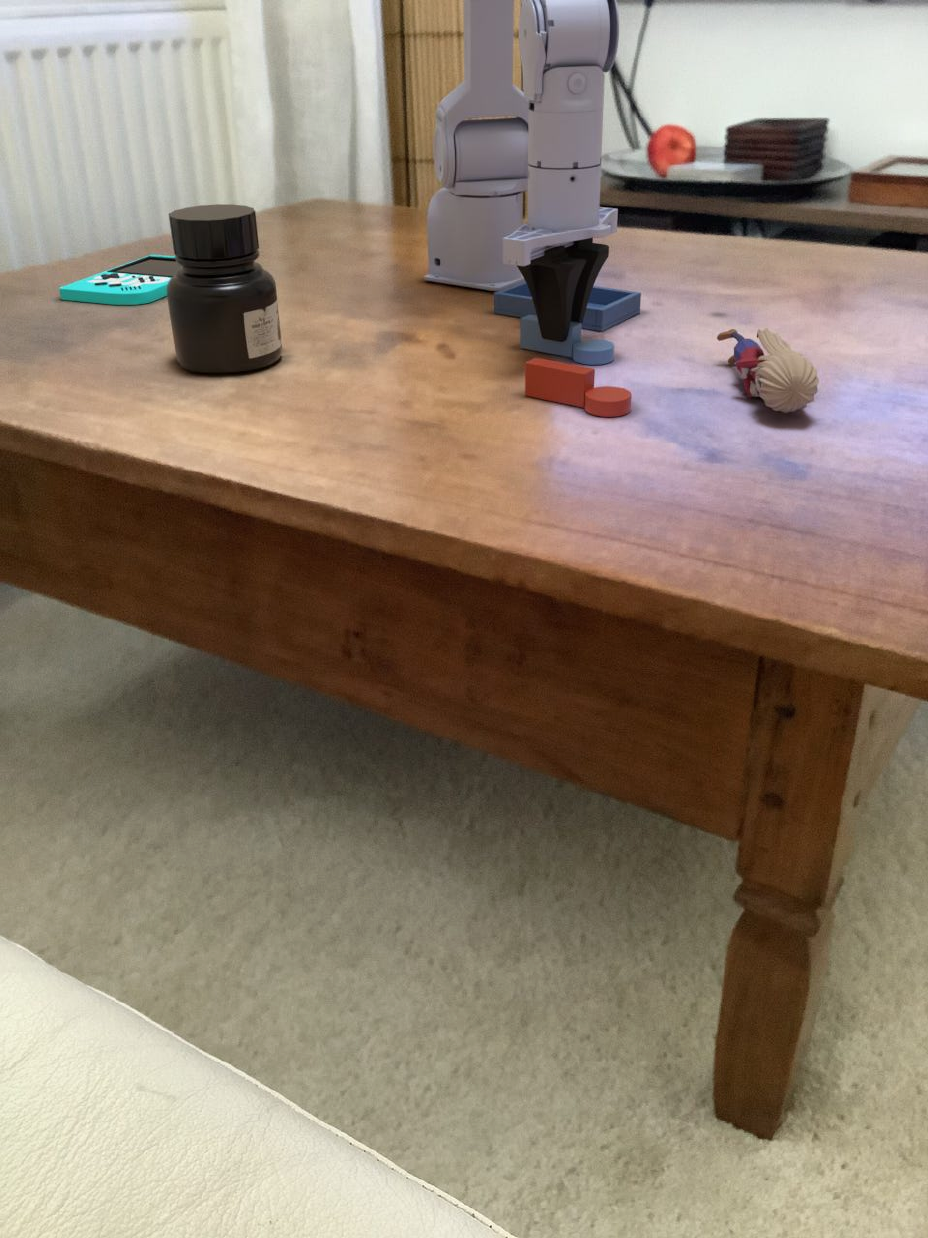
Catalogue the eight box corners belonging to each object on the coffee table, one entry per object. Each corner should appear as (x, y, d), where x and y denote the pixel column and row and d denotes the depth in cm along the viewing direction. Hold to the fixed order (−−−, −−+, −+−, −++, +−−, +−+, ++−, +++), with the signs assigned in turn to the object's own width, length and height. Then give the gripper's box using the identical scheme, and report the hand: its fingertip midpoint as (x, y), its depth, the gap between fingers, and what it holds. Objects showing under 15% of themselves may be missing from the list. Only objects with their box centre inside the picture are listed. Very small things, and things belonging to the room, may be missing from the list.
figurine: (699, 324, 90) (751, 370, 77) (748, 296, 90) (809, 339, 76) (728, 385, 93) (783, 441, 79) (776, 359, 92) (840, 411, 79)
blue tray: (493, 312, 107) (493, 292, 106) (534, 296, 112) (534, 276, 111) (601, 331, 101) (602, 310, 100) (640, 312, 106) (641, 292, 105)
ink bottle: (284, 374, 92) (269, 220, 86) (174, 381, 91) (150, 226, 85) (281, 340, 100) (267, 198, 94) (180, 347, 99) (159, 203, 93)
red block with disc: (517, 399, 86) (518, 365, 84) (541, 386, 88) (542, 354, 87) (616, 420, 81) (618, 385, 80) (639, 406, 84) (641, 372, 82)
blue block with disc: (513, 351, 96) (513, 320, 95) (535, 341, 99) (535, 311, 97) (600, 367, 92) (602, 335, 91) (621, 356, 94) (622, 325, 93)
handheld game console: (57, 299, 114) (54, 285, 114) (151, 264, 127) (149, 251, 126) (139, 307, 111) (137, 293, 110) (227, 270, 124) (226, 257, 123)
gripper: (559, 181, 81) (555, 366, 88) (653, 154, 91) (643, 322, 98) (479, 173, 84) (481, 352, 91) (578, 149, 95) (573, 311, 101)
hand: (560, 336), depth 95 cm, fingers closed on blue block with disc
